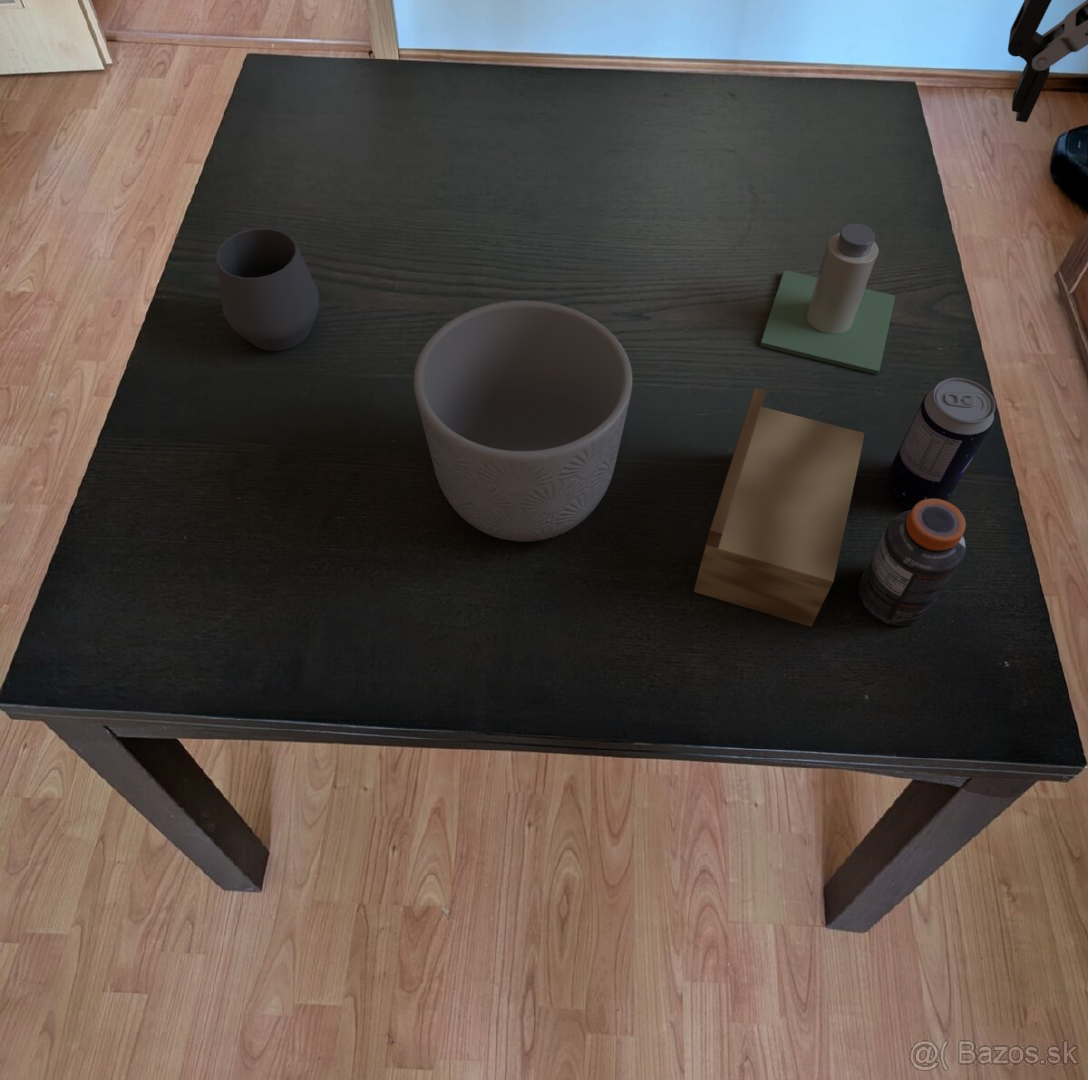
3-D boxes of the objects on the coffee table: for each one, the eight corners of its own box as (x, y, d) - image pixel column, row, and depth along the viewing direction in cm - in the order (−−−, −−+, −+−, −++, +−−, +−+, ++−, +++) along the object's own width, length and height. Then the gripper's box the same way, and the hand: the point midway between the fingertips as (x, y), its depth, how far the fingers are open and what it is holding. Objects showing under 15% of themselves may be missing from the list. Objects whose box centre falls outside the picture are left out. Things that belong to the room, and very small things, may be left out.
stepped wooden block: (843, 483, 86) (872, 416, 78) (811, 627, 77) (840, 567, 70) (736, 454, 88) (754, 387, 80) (693, 592, 79) (709, 530, 72)
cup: (345, 328, 97) (327, 248, 89) (276, 378, 93) (251, 299, 84) (283, 289, 100) (261, 209, 92) (214, 336, 96) (184, 256, 88)
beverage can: (949, 519, 83) (1004, 429, 74) (884, 511, 84) (930, 421, 74) (944, 470, 87) (996, 378, 77) (881, 463, 87) (925, 370, 77)
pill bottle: (930, 576, 80) (982, 496, 71) (927, 635, 77) (981, 559, 67) (859, 561, 81) (901, 479, 72) (853, 618, 78) (896, 540, 68)
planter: (639, 554, 81) (658, 438, 69) (445, 586, 79) (428, 473, 67) (594, 411, 91) (603, 286, 78) (420, 437, 88) (401, 313, 76)
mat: (893, 299, 100) (895, 295, 100) (877, 375, 94) (879, 371, 93) (782, 274, 102) (784, 269, 102) (759, 346, 96) (760, 342, 95)
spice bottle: (856, 309, 98) (887, 224, 90) (848, 339, 96) (879, 254, 87) (810, 298, 99) (837, 213, 91) (802, 327, 97) (828, 243, 88)
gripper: (1089, -135, 52) (975, 137, 65) (1374, -95, 49) (1195, 180, 62) (1091, -183, 56) (984, 82, 69) (1356, -149, 53) (1191, 120, 66)
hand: (1084, 128), depth 66 cm, fingers open, 8 cm apart
